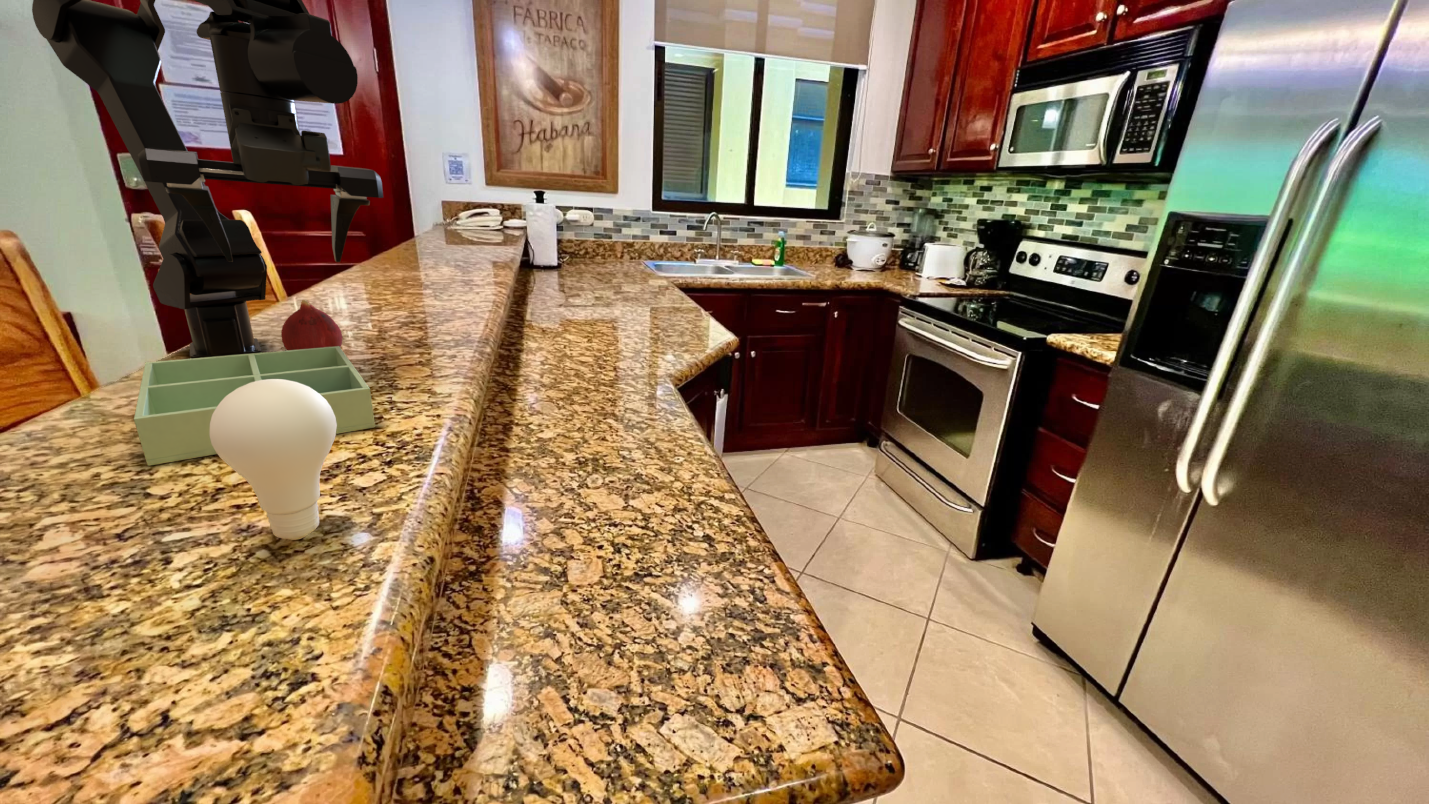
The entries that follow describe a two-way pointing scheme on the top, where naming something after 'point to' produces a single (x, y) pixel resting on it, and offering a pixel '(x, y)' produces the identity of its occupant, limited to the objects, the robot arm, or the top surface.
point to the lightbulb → (277, 448)
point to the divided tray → (194, 388)
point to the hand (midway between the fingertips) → (286, 261)
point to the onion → (310, 329)
